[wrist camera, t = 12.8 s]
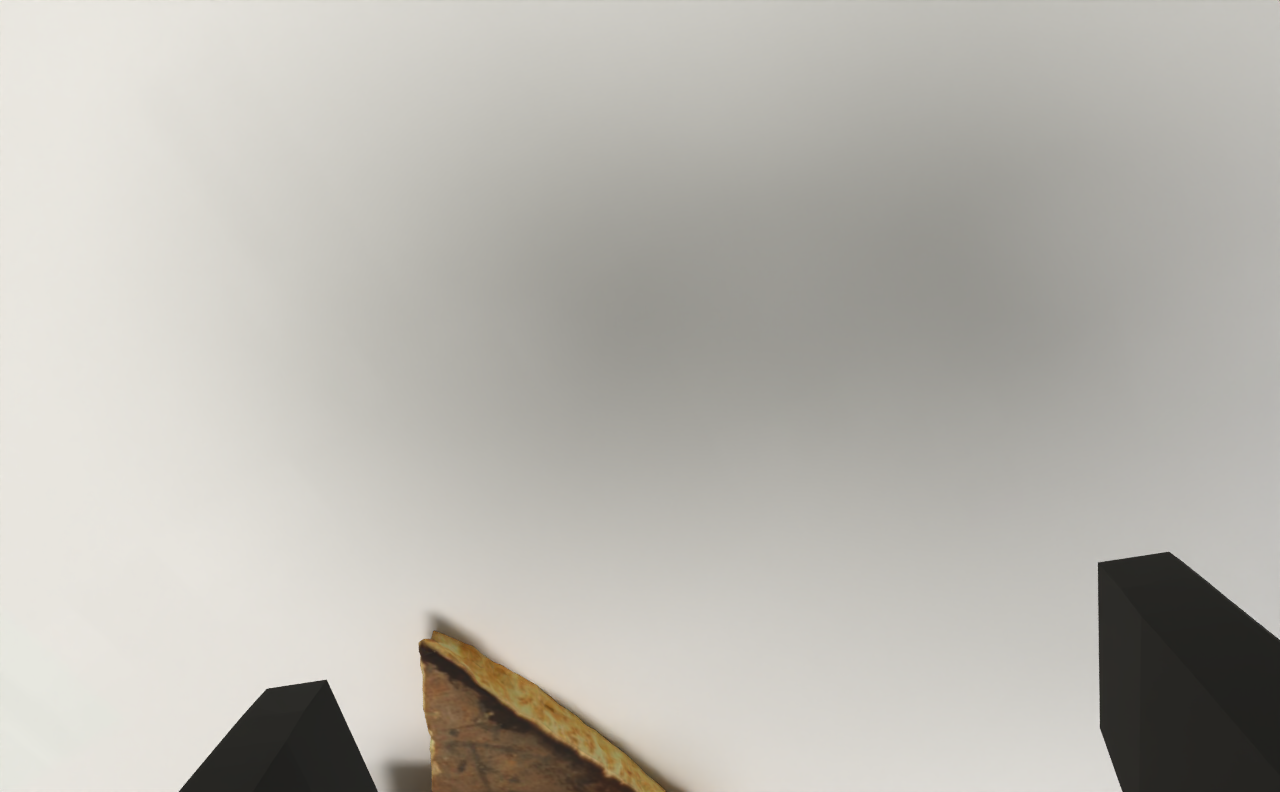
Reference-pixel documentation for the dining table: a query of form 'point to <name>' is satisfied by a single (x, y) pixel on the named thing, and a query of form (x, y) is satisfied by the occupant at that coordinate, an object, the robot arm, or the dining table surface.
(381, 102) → the dining table surface
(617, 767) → the shard
